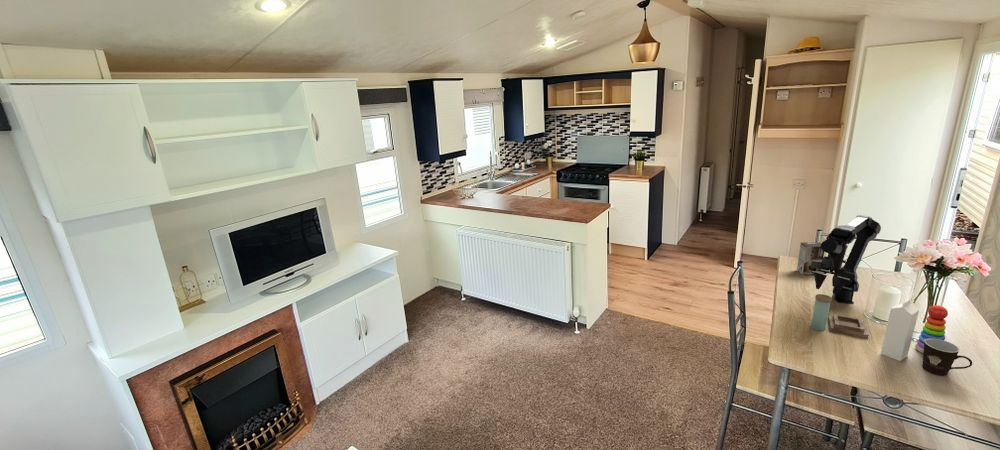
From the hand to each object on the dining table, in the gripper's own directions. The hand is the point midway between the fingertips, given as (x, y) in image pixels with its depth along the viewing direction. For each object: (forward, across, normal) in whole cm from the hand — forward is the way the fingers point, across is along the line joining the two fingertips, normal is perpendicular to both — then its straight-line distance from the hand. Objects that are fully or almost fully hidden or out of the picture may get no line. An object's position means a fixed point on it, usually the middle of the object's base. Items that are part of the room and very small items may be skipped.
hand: (825, 291), depth 188 cm
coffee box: (-7, -45, +25) cm, 52 cm away
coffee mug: (+18, +38, +16) cm, 45 cm away
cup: (+16, +6, -4) cm, 17 cm away
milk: (+17, +27, +10) cm, 33 cm away
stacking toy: (+12, +27, +23) cm, 37 cm away
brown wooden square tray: (+12, +8, +7) cm, 16 cm away
